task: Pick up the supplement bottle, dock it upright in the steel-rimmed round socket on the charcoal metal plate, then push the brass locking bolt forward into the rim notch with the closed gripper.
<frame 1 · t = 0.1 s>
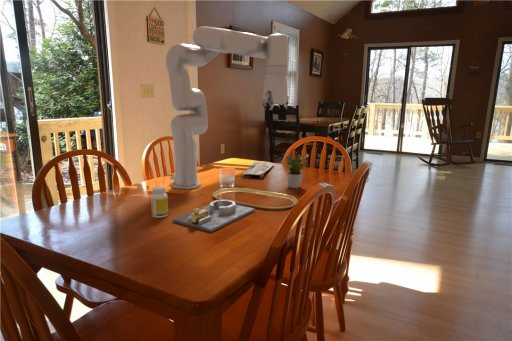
hand: (275, 120, 131), 31 cm above the table, tool pointing down, fingers open, 9 cm apart
house plant: (291, 187, 162), on the table
gold oval ring: (254, 201, 143), on the table
dock: (222, 213, 126), on the table
bolt: (199, 213, 115), point 3 cm above the table, slide at 5.0 cm
newspaper: (259, 172, 193), on the table
supplement bottle: (160, 216, 123), on the table
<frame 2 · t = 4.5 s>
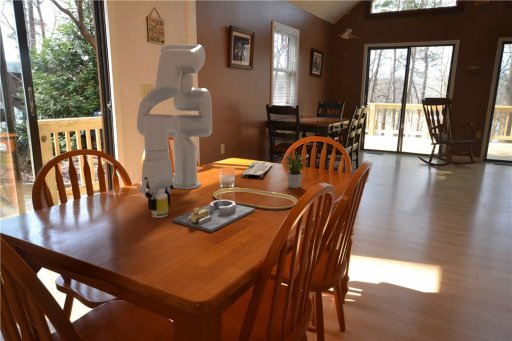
hand: (159, 207, 122), 3 cm above the table, tool pointing down, fingers closed on supplement bottle, 5 cm apart
supplement bottle: (160, 216, 123), on the table, touching gripper
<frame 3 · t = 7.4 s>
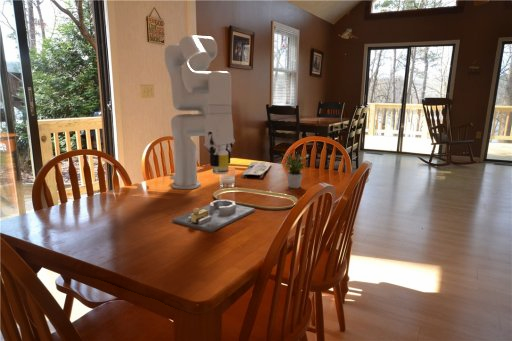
hand: (220, 164, 122), 17 cm above the table, tool pointing down, fingers closed on supplement bottle, 5 cm apart
supplement bottle: (220, 173, 123), point 14 cm above the table, touching gripper
everything else where it was.
when the fingers open (5 cm above the table, at t = 10.2 s): supplement bottle drops 1 cm, resting on dock.
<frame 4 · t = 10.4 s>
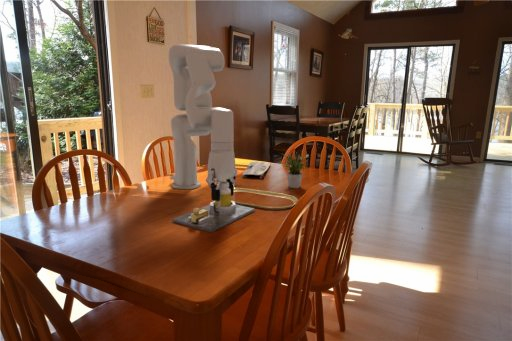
hand: (222, 197, 125), 6 cm above the table, tool pointing down, fingers open, 7 cm apart
supplement bottle: (222, 210, 126), point 1 cm above the table, touching dock
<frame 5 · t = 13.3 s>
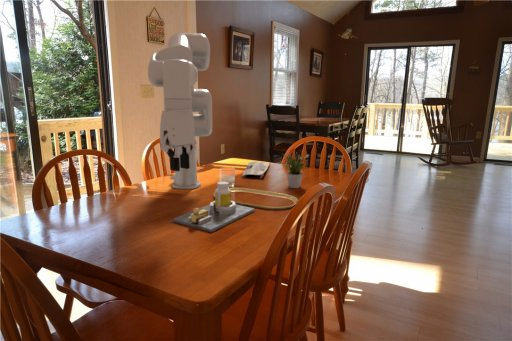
hand: (180, 168, 105), 19 cm above the table, tool pointing down, fingers open, 3 cm apart
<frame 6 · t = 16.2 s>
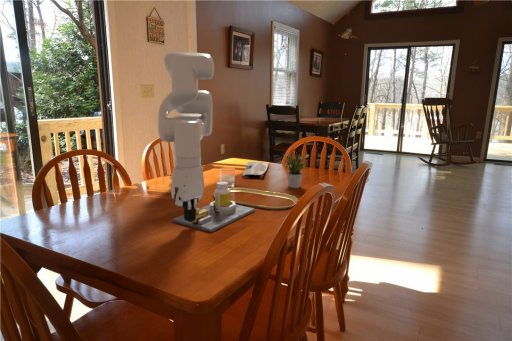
hand: (189, 220, 112), 2 cm above the table, tool pointing down, fingers closed
bolt: (199, 213, 115), point 3 cm above the table, slide at 4.9 cm, touching gripper
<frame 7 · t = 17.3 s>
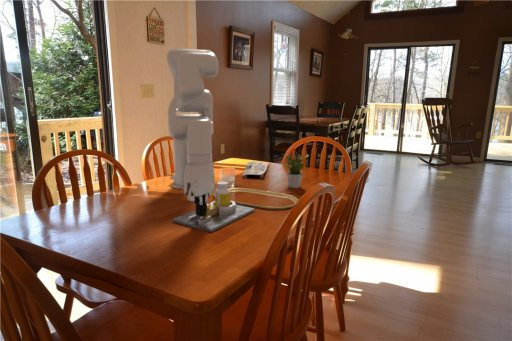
hand: (201, 215, 116), 3 cm above the table, tool pointing down, fingers closed
bolt: (210, 209, 120), point 3 cm above the table, slide at -0.3 cm, touching gripper
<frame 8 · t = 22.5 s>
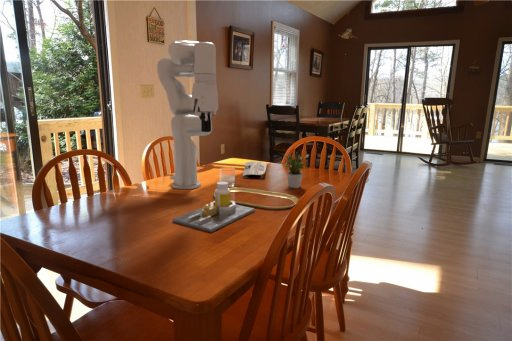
hand: (206, 131, 131), 27 cm above the table, tool pointing down, fingers closed
bolt: (209, 209, 120), point 3 cm above the table, slide at -0.1 cm
at the end: supplement bottle 0.2 cm off-centre on the dock, point 0.8 cm above the dock's base; supplement bottle tilted 0°; bolt slide at -0.1 cm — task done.
